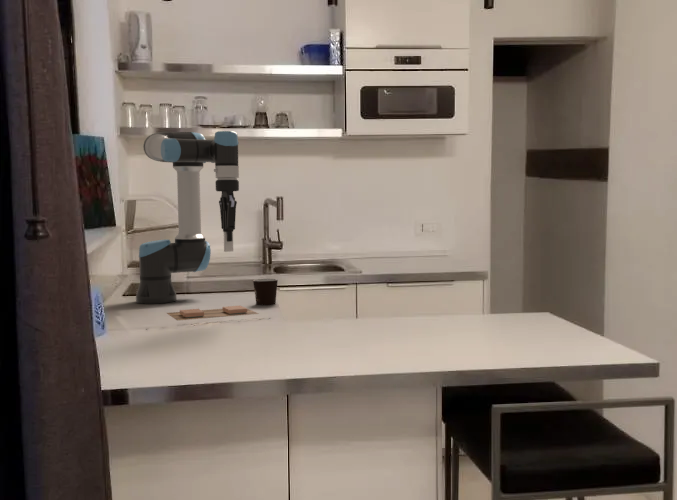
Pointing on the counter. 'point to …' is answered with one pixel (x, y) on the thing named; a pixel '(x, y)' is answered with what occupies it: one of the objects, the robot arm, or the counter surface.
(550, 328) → the counter surface
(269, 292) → the coffee mug
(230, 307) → the tile
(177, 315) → the board
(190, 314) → the tile
